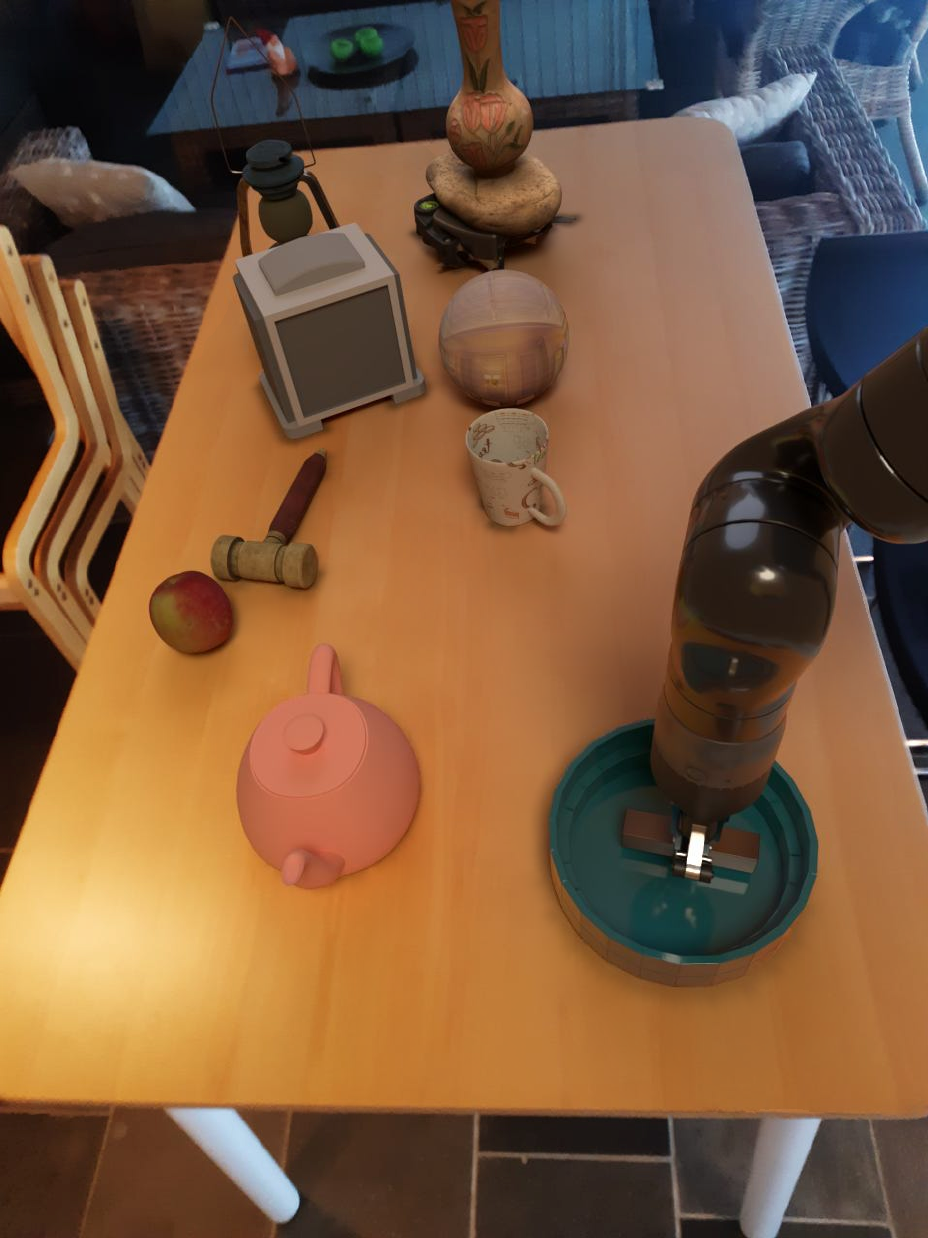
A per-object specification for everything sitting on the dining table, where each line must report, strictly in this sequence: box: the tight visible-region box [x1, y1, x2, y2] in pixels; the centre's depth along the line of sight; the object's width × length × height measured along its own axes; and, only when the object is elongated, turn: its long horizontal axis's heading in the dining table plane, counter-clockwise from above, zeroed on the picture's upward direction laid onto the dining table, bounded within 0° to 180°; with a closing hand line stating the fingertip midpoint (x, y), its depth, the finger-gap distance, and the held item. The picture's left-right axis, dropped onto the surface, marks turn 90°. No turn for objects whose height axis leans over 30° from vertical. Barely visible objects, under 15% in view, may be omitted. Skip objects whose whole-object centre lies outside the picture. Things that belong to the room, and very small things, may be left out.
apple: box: [148, 570, 234, 654], centre depth 85 cm, size 8×8×8 cm
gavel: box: [209, 447, 328, 589], centre depth 96 cm, size 21×5×10 cm
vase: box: [413, 0, 577, 272], centre depth 116 cm, size 24×22×35 cm
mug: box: [464, 408, 568, 527], centre depth 90 cm, size 8×13×10 cm, turn 43°
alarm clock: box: [232, 221, 427, 440], centre depth 104 cm, size 18×13×18 cm
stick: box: [621, 809, 760, 873], centre depth 67 cm, size 10×2×2 cm, turn 75°
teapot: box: [235, 643, 421, 890], centre depth 70 cm, size 22×15×12 cm
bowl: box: [548, 718, 819, 988], centre depth 67 cm, size 19×19×6 cm
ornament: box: [438, 269, 570, 407], centre depth 101 cm, size 15×15×15 cm
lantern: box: [209, 16, 341, 257], centre depth 111 cm, size 14×12×35 cm
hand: (688, 845), depth 68 cm, fingers closed on stick, 2 cm apart
